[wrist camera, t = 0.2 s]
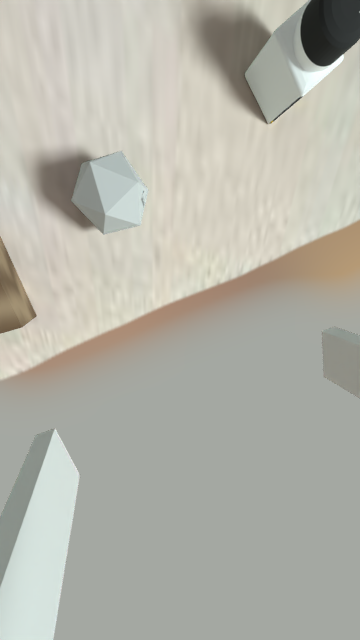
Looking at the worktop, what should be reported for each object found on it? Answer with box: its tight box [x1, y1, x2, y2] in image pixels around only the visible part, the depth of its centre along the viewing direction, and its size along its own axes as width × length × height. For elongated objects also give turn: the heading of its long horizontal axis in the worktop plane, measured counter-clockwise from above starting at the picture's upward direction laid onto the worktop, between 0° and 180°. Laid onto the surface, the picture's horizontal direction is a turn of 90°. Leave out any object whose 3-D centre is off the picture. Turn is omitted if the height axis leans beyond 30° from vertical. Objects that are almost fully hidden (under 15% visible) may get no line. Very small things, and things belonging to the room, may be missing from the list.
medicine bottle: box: [245, 0, 360, 124], centre depth 29 cm, size 7×7×12 cm
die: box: [71, 151, 148, 235], centre depth 29 cm, size 8×9×10 cm
